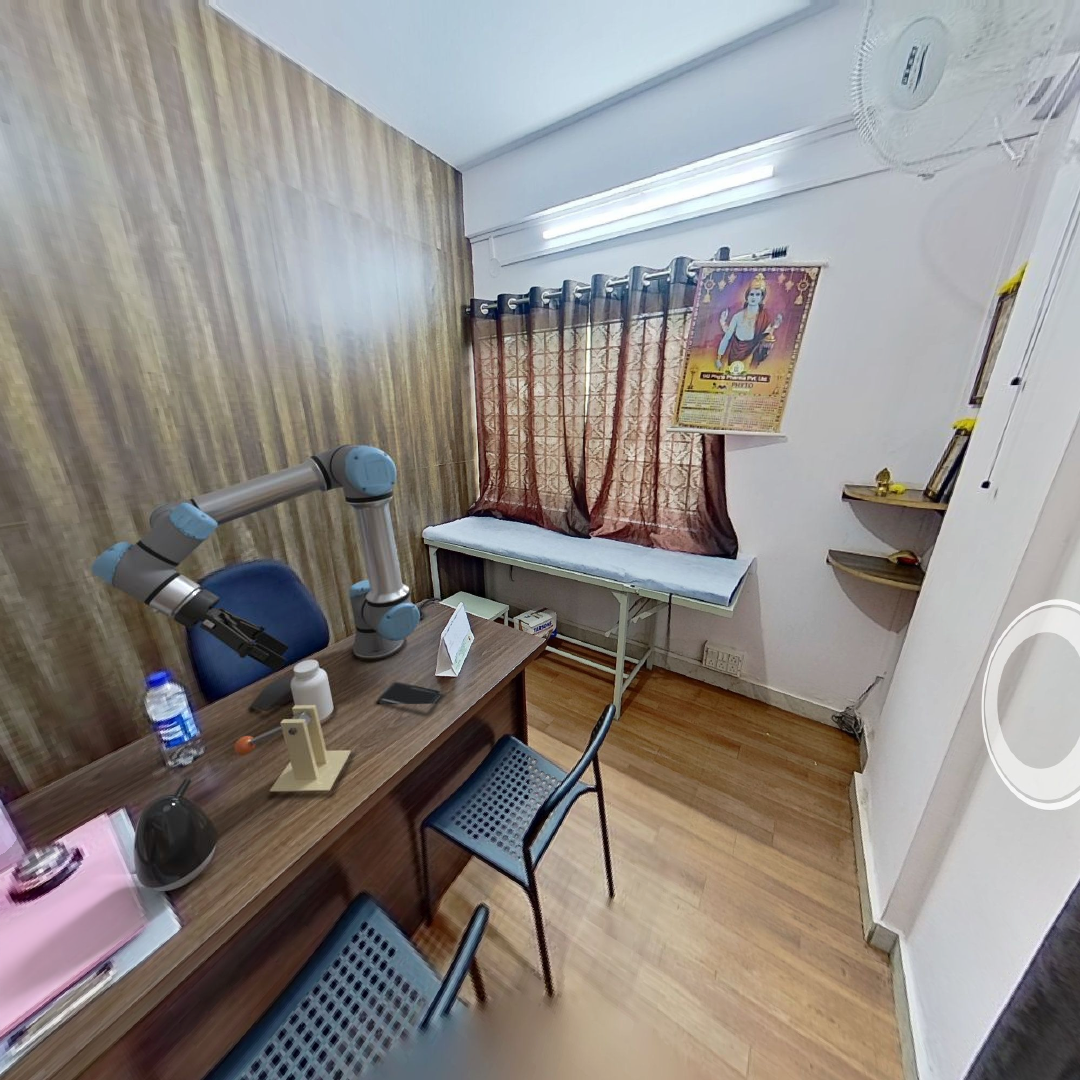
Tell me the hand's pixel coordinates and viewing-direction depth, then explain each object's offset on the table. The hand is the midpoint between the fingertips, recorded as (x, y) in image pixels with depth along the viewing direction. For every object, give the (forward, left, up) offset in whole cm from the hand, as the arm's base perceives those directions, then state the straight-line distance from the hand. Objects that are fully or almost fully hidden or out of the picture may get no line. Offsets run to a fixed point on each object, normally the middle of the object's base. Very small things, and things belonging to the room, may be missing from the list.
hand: (283, 658), depth 91 cm
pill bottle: (-6, -4, -22) cm, 23 cm away
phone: (-22, +12, -22) cm, 33 cm away
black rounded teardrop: (+27, +11, -22) cm, 37 cm away
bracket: (+5, +12, -22) cm, 25 cm away
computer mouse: (-6, -19, -22) cm, 30 cm away
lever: (+8, +7, -12) cm, 16 cm away
